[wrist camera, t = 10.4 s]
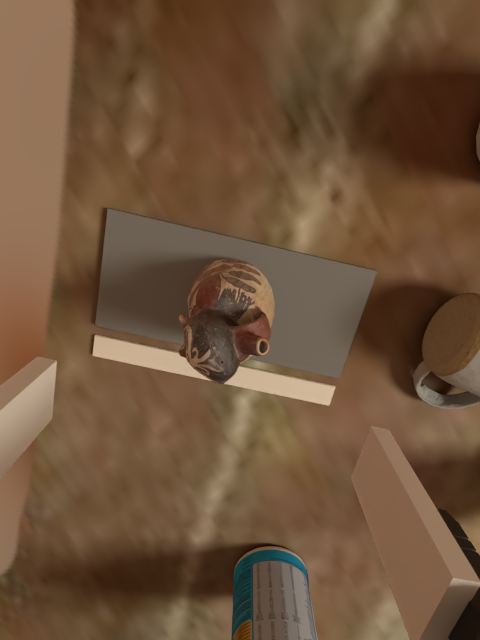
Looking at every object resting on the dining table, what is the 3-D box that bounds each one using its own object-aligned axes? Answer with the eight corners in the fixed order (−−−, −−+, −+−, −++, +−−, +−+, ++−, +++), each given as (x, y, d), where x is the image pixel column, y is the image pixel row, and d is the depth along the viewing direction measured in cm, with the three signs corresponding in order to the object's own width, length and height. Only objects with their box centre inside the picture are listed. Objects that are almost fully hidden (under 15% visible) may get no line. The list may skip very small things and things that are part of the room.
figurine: (179, 265, 31) (140, 309, 20) (265, 250, 31) (276, 286, 19) (198, 345, 33) (173, 426, 22) (279, 332, 33) (295, 408, 21)
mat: (338, 375, 35) (339, 378, 34) (97, 323, 33) (95, 325, 33) (375, 270, 31) (377, 271, 31) (109, 208, 30) (107, 208, 30)
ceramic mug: (448, 276, 31) (506, 305, 24) (533, 311, 32) (614, 349, 25) (385, 381, 35) (420, 434, 28) (463, 410, 36) (516, 469, 29)
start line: (328, 403, 36) (329, 405, 35) (93, 354, 34) (92, 355, 34) (334, 385, 35) (335, 387, 35) (96, 334, 34) (94, 335, 33)
